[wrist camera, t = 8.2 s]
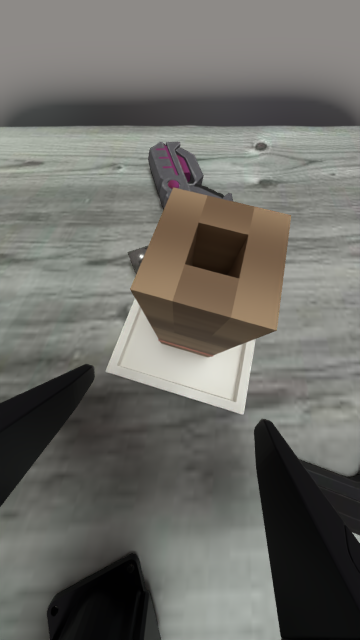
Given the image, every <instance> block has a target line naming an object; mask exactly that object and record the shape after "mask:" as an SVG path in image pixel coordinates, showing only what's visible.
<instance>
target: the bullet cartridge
mask: <svg viewBox="0 0 360 640" xmlns="http://www.w3.org/2000/svg"><path fill="white" fill-rule="evenodd" d="M148 246H149V245H148ZM148 246H145V247H142V248H139V249H136V250H133V251H130V252H128V255H129V257H130V260H131V262H132V265H133V267H134V270H135V272H136V273H137V272H138V270H139V267H140V265H141V262H142V260H143V258H144V255H145V253H146V251H147V248H148Z"/></svg>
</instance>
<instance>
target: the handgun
mask: <svg viewBox="0 0 360 640" xmlns="http://www.w3.org/2000/svg"><path fill="white" fill-rule="evenodd" d="M300 462H301V463H302V465H303V466H304V467H305V469H306V470H307V471H308V473H309V474H310V476H311V477H312V478H313V480H314V481H315V483H316V484H317V485H318V487H319V488H320V489H321V491H322V492H323V494H324V495H325V496H326V498H327V499H328V500H329V502H330V503H331V505H332V506H333V507H334V509H335V510H336V512H337V513H338V514H339V516H340V517H341V518H342V520H343V521H344V524H345V525H347V527H348V528H349V529H350V531H351V532H353V533H355V534H358V535H360V474H359V475H358V476H353V477H351V478H348V477H344V476H342V475H339V474H336V473H334V472H331V471H328V470H326V469H323V468H320V467H318V466H315V465H312V464H310V463H307V462H304V461H302V460H300Z"/></svg>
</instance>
